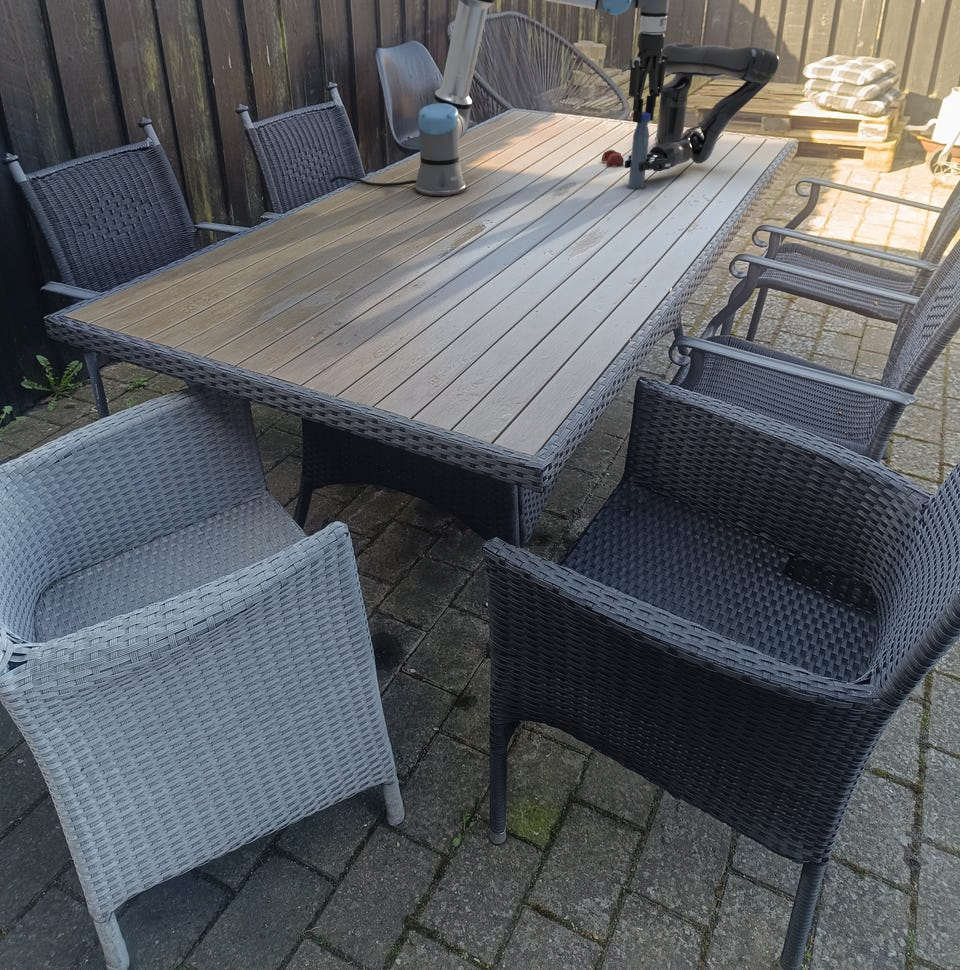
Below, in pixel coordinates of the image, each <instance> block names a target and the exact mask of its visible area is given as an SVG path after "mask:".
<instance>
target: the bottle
mask: <svg viewBox="0 0 960 970" xmlns="http://www.w3.org/2000/svg"><path fill="white" fill-rule="evenodd" d="M648 125H649V122H641V123H636V126H635V128H634V131H633V135H632V143H631V144H632V145H631V153H630V155H631V163H630V168H629V173H628V184H627V187H628V188H629V189H633V190H640V189H643V188H644V187H645V177H646V170H645V171H642V172H640V171H639V164H641V163H645V162H646V161H647V153H648V151H649V150H648V149H649V142H650V131H649V126H648Z"/></svg>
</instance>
